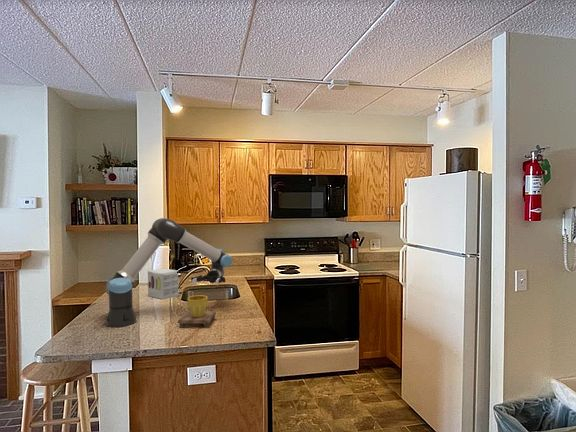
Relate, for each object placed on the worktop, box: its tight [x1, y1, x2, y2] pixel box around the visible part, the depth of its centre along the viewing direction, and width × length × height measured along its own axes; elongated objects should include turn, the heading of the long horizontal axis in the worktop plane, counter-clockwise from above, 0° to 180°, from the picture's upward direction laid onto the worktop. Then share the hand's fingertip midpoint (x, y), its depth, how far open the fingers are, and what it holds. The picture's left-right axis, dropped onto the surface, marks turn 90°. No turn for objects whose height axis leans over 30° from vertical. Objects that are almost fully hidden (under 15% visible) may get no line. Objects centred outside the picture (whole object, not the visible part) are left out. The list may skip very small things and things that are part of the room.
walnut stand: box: [177, 310, 217, 328], centre depth 204 cm, size 16×16×4 cm
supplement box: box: [147, 267, 179, 301], centre depth 266 cm, size 17×13×18 cm
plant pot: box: [187, 294, 209, 317], centre depth 204 cm, size 10×10×10 cm
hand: (204, 282), depth 217 cm, fingers open, 13 cm apart
